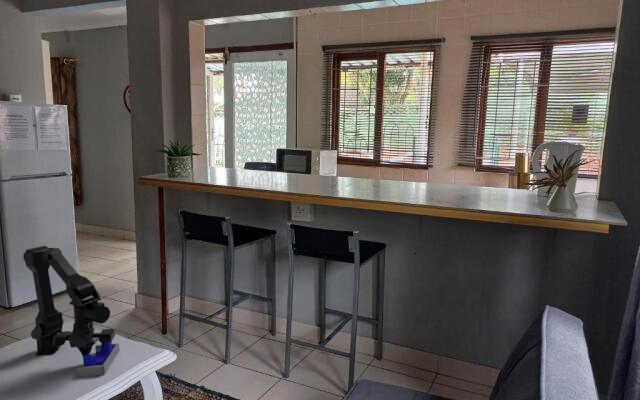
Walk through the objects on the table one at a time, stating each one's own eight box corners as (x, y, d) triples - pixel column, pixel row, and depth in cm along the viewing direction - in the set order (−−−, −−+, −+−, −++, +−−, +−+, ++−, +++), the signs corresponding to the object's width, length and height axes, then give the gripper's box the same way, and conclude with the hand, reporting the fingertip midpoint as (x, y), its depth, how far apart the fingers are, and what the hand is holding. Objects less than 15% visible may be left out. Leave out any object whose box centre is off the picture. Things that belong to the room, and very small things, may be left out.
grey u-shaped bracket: (78, 376, 153) (78, 368, 153) (96, 352, 171) (95, 344, 170) (104, 374, 154) (104, 366, 154) (119, 350, 172) (119, 343, 171)
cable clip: (101, 356, 168) (100, 340, 167) (112, 356, 167) (111, 341, 166) (80, 372, 156) (78, 356, 155) (92, 373, 155) (91, 357, 155)
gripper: (44, 328, 150) (48, 373, 153) (104, 325, 153) (107, 369, 155) (58, 315, 161) (61, 357, 163) (114, 312, 164) (117, 354, 166)
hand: (86, 359), depth 162 cm, fingers closed
